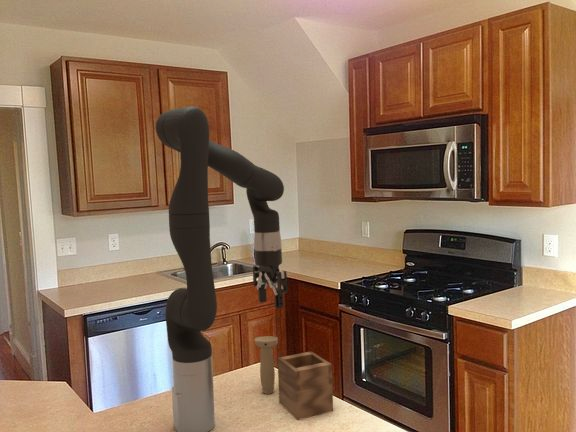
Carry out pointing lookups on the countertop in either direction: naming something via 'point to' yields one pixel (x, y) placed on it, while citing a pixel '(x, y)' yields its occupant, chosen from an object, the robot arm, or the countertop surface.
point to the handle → (267, 362)
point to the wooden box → (305, 384)
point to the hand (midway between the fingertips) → (270, 305)
